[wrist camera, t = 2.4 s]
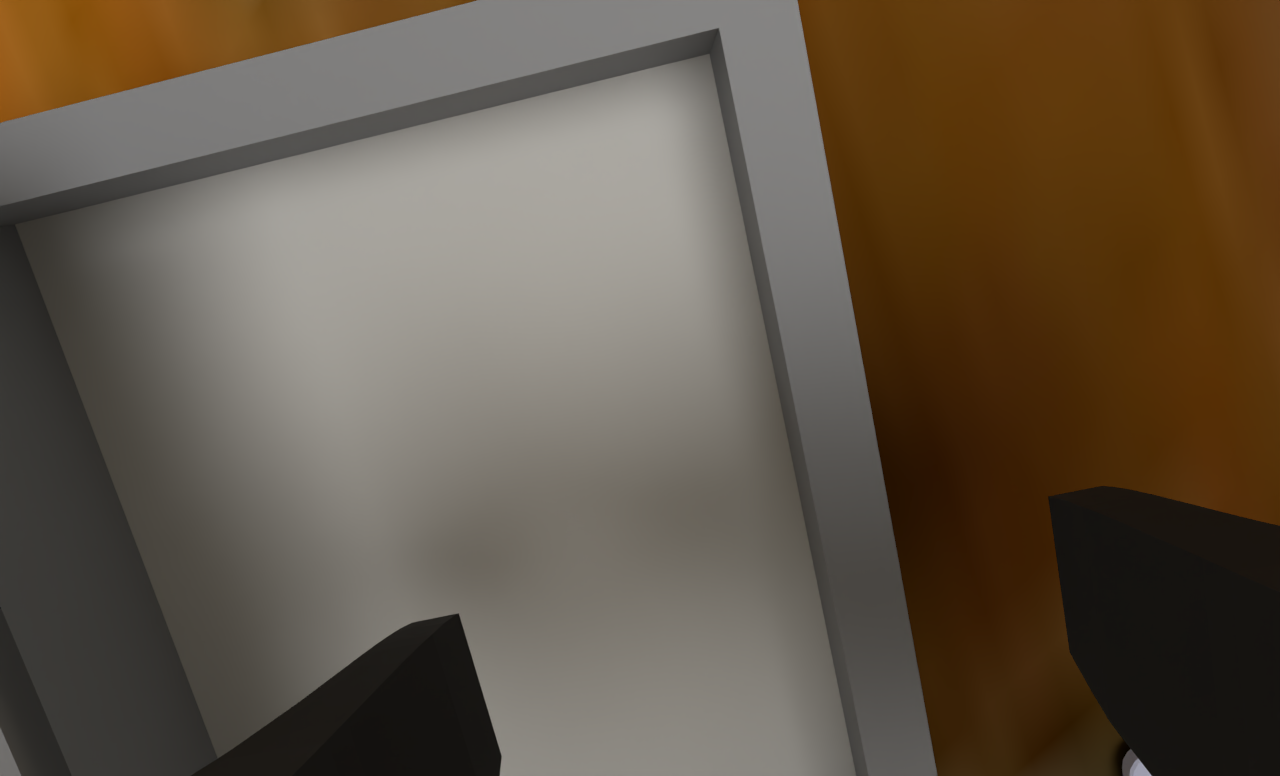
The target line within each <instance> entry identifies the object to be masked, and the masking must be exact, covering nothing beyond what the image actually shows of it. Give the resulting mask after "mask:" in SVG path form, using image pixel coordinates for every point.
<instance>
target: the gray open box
mask: <svg viewBox="0 0 1280 776" xmlns="http://www.w3.org/2000/svg"><path fill="white" fill-rule="evenodd" d="M458 613H459V616H460V619H461V622H462V626H463V629H464V632H465V636H466V639H467V642H468V646H469V649H470V652H471V656H472V659H473V662H474V666H475V669H476V672H477V676H478V679H479V682H480V686H481V689H482V692H483V696H484V699H485V702H486V706H487V709H488V712H489V716H490V719H491V722H492V726H493V729H494V732H495V736H496V739H497V742H498V746H499V749H500V752H501V756H502V759H501V768H500V776H937V771H936V765H935V760H934V754H933V749H932V743H931V738H930V732H929V726H928V721H927V715H926V710H925V704H924V699H923V693H922V688H921V682H920V677H919V671H918V666H917V660H916V655H915V649H914V643H913V638H912V632H911V627H910V621H909V616H908V610H907V605H906V599H905V594H904V588H903V583H902V577H901V572H900V566H899V560H898V555H897V549H896V544H895V538H894V533H893V527H892V522H891V516H890V511H889V505H888V500H887V494H886V489H885V483H884V477H883V472H882V466H881V461H880V455H879V450H878V444H877V439H876V433H875V428H874V422H873V417H872V411H871V406H870V400H869V394H868V389H867V383H866V378H865V372H864V367H863V361H862V356H861V350H860V345H859V339H858V334H857V328H856V323H855V317H854V311H853V306H852V300H851V295H850V289H849V284H848V278H847V273H846V267H845V262H844V256H843V251H842V245H841V240H840V234H839V228H838V223H837V217H836V212H835V206H834V201H833V195H832V190H831V184H830V179H829V173H828V168H827V162H826V157H825V151H824V145H823V140H822V134H821V129H820V123H819V118H818V112H817V107H816V101H815V96H814V90H813V85H812V79H811V74H810V68H809V62H808V57H807V51H806V46H805V40H804V35H803V29H802V24H801V18H800V13H799V7H798V2H797V0H478V1H474V2H470V3H466V4H462V5H458V6H454V7H450V8H447V9H443V10H439V11H435V12H431V13H427V14H423V15H419V16H415V17H411V18H408V19H404V20H400V21H396V22H392V23H388V24H384V25H380V26H376V27H372V28H369V29H365V30H361V31H357V32H353V33H349V34H345V35H341V36H337V37H333V38H330V39H326V40H322V41H318V42H314V43H310V44H306V45H302V46H298V47H294V48H291V49H287V50H283V51H279V52H275V53H271V54H267V55H263V56H259V57H256V58H252V59H248V60H244V61H240V62H236V63H232V64H228V65H224V66H220V67H217V68H213V69H209V70H205V71H201V72H197V73H193V74H189V75H185V76H181V77H178V78H174V79H170V80H166V81H162V82H158V83H154V84H150V85H146V86H142V87H139V88H135V89H131V90H127V91H123V92H119V93H115V94H111V95H107V96H103V97H100V98H96V99H92V100H88V101H84V102H80V103H76V104H72V105H68V106H64V107H61V108H57V109H53V110H49V111H45V112H41V113H37V114H33V115H29V116H25V117H22V118H18V119H14V120H10V121H6V122H2V123H0V728H1V730H2V733H3V735H4V737H5V740H6V742H7V744H8V746H9V749H10V751H11V753H12V756H13V758H14V760H15V763H16V765H17V767H18V769H19V772H20V774H21V776H191V775H192V774H194V773H195V772H197V771H199V770H200V769H202V768H203V767H205V766H207V765H208V764H210V763H211V762H213V761H215V760H216V759H218V758H219V757H221V756H222V755H224V754H225V753H227V752H228V751H230V750H231V749H233V748H234V747H236V746H237V745H239V744H240V743H241V742H243V741H244V740H246V739H247V738H249V737H250V736H251V735H253V734H254V733H256V732H257V731H259V730H260V729H261V728H263V727H264V726H266V725H267V724H269V723H270V722H271V721H273V720H274V719H276V718H277V717H278V716H280V715H281V714H283V713H284V712H286V711H287V710H288V709H290V708H291V707H293V706H294V705H296V704H297V703H298V702H300V701H301V700H302V699H304V698H305V697H306V696H308V695H309V694H310V693H312V692H313V691H314V690H316V689H317V688H318V687H320V686H321V685H322V684H324V683H325V682H326V681H328V680H329V679H330V678H332V677H333V676H334V675H336V674H337V673H338V672H340V671H341V670H342V669H344V668H345V667H346V666H348V665H349V664H350V663H352V662H353V661H354V660H356V659H357V658H358V657H360V656H361V655H362V654H364V653H365V652H366V651H368V650H369V649H370V648H372V647H373V646H375V645H376V644H377V643H379V642H380V641H382V640H383V639H385V638H386V637H388V636H389V635H391V634H392V633H394V632H395V631H397V630H399V629H400V628H402V627H404V626H406V625H408V624H410V623H412V622H417V621H422V620H428V619H433V618H438V617H443V616H448V615H453V614H458Z"/></svg>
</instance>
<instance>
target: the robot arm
mask: <svg viewBox="0 0 1280 776" xmlns="http://www.w3.org/2000/svg"><path fill="white" fill-rule="evenodd" d="M1048 498H1049V505H1050V512H1051V519H1052V527H1053V534H1054V541H1055V548H1056V556H1057V563H1058V570H1059V577H1060V585H1061V592H1062V599H1063V606H1064V613H1065V621H1066V628H1067V635H1068V642H1069V650H1070V653H1071V655H1072V657H1073V659H1074V661H1075V662H1076V664H1077V666H1078V668H1079V669H1080V671H1081V673H1082V675H1083V677H1084V678H1085V680H1086V682H1087V684H1088V686H1089V687H1090V689H1091V691H1092V693H1093V694H1094V696H1095V698H1096V699H1097V701H1098V703H1099V704H1100V706H1101V708H1102V709H1103V711H1104V713H1105V714H1106V716H1107V718H1108V719H1109V721H1110V722H1111V724H1112V725H1113V726H1114V728H1115V729H1116V730H1117V732H1118V733H1119V734H1120V736H1121V737H1122V738H1123V740H1124V741H1125V742H1126V743H1127V745H1128V746H1129V747H1130V750H1129V751H1128V752H1127V754H1126V755H1125V757H1124V759H1123V764H1122V772H1123V776H1280V526H1278V525H1273V524H1269V523H1264V522H1260V521H1256V520H1252V519H1248V518H1243V517H1239V516H1235V515H1231V514H1227V513H1223V512H1219V511H1215V510H1211V509H1207V508H1204V507H1200V506H1196V505H1192V504H1188V503H1184V502H1180V501H1176V500H1172V499H1168V498H1164V497H1160V496H1156V495H1152V494H1147V493H1143V492H1138V491H1133V490H1128V489H1123V488H1116V487H1107V486H1100V487H1095V488H1090V489H1085V490H1080V491H1074V492H1069V493H1064V494H1059V495H1054V496H1049V497H1048ZM501 759H502V756H501V752H500V749H499V746H498V742H497V739H496V736H495V732H494V729H493V726H492V722H491V719H490V716H489V712H488V709H487V706H486V702H485V699H484V696H483V692H482V689H481V686H480V682H479V679H478V676H477V672H476V669H475V666H474V662H473V659H472V656H471V652H470V649H469V646H468V642H467V639H466V636H465V632H464V629H463V626H462V622H461V619H460V616H459V613H458V614H453V615H448V616H443V617H438V618H433V619H428V620H422V621H417V622H412V623H410V624H408V625H406V626H404V627H402V628H400V629H399V630H397V631H395V632H394V633H392V634H391V635H389V636H388V637H386V638H385V639H383V640H382V641H380V642H379V643H377V644H376V645H375V646H373V647H372V648H370V649H369V650H368V651H366V652H365V653H364V654H362V655H361V656H360V657H358V658H357V659H356V660H354V661H353V662H352V663H350V664H349V665H348V666H346V667H345V668H344V669H342V670H341V671H340V672H338V673H337V674H336V675H334V676H333V677H332V678H330V679H329V680H328V681H326V682H325V683H324V684H322V685H321V686H320V687H318V688H317V689H316V690H314V691H313V692H312V693H310V694H309V695H308V696H306V697H305V698H304V699H302V700H301V701H300V702H298V703H297V704H296V705H294V706H293V707H291V708H290V709H288V710H287V711H286V712H284V713H283V714H281V715H280V716H278V717H277V718H276V719H274V720H273V721H271V722H270V723H269V724H267V725H266V726H264V727H263V728H261V729H260V730H259V731H257V732H256V733H254V734H253V735H251V736H250V737H249V738H247V739H246V740H244V741H243V742H241V743H240V744H239V745H237V746H236V747H234V748H233V749H231V750H230V751H228V752H227V753H225V754H224V755H222V756H221V757H219V758H218V759H216V760H215V761H213V762H211V763H210V764H208V765H207V766H205V767H203V768H202V769H200V770H199V771H197V772H195V773H194V774H192V775H191V776H500V768H501Z"/></svg>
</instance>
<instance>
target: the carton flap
mask: <svg viewBox="0 0 1280 776" xmlns="http://www.w3.org/2000/svg"><path fill="white" fill-rule="evenodd" d="M0 776H21V774H20V772H19V769H18V767H17V765H16V763H15V760H14V758H13V756H12V753H11V751H10V749H9V746H8V744H7V742H6V740H5V737H4V735H3V733H2V730H1V728H0Z"/></svg>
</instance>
